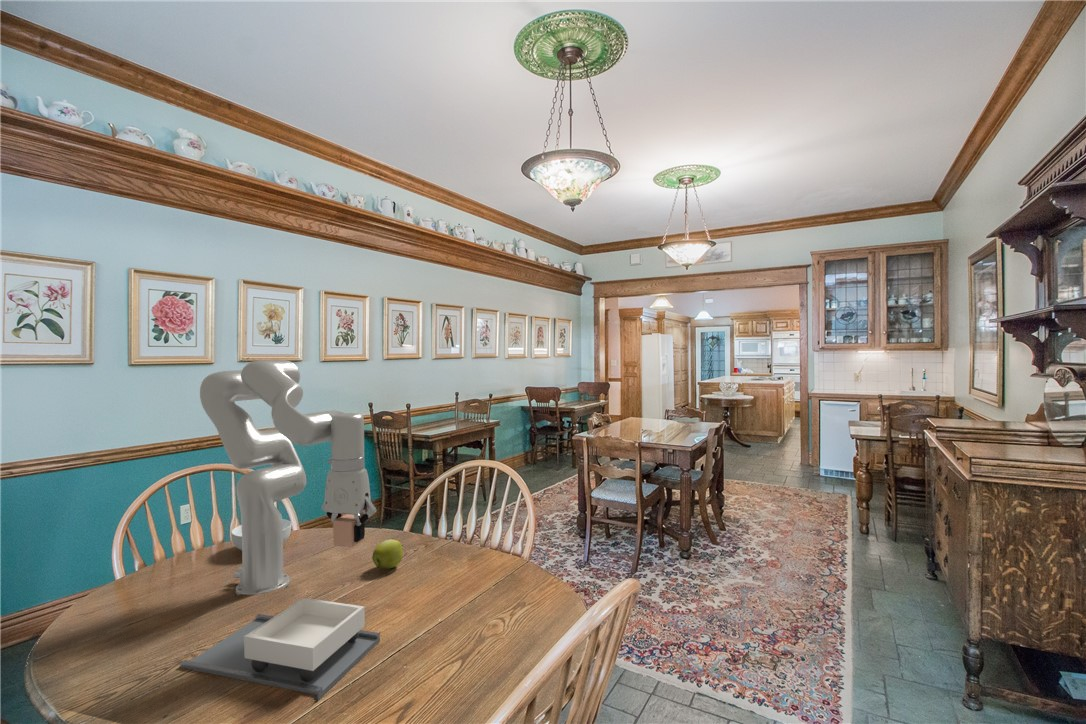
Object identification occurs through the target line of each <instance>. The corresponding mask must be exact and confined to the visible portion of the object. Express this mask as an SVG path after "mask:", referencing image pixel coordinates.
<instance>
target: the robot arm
mask: <svg viewBox="0 0 1086 724" xmlns="http://www.w3.org/2000/svg"><path fill="white" fill-rule="evenodd" d="M300 379H301V372H300V370H299V368H298V366H297V365H296V364H295V363H294V362H292V361H290V360H287V359H259V360H253V361H251V362H248V363H247V364H246V365H244V367H243V368H242V369H240V370H223V371H222V370H221V371H217V372H214V373H211V374H208V375H207V376H205V378H204V379H203V380H202V381H201V384H200V387H199V399H200V403H201V406H202V408H203V411H204V412H205V414H206V416H207V417H208V418H209V420H211V422H212V423H213V425H214V427H215V429H216V430H217V433H218V435H219V438H220V440H221V443H222V446H223V447H224V450H225V452H226V455H227V457H228V459H229V461H230V463H231V464H232V466H233V467H234V468H236V469H239V470H247V469H253V468H257V469H255V470H251V471H249V472H247V473H245V474H244V475H243V476H241V477H240V478H239V480H238V481H237V484H236V489H235V490H236V496H237V502H238V504H239V509H240V519H241V525H242V550H241V552H242V553H241V555H242V557H241V558H242V559H241V560H242V562H241V563H242V566H239V567H238V568H237V569H236V571H235V572H234V573H233V575H232V577H233V578H234V579H239V583H238V584H237V585H236V587H235V594H236V595H237V596H240V595H247V596H254V595H261V594H265V593H270V592H272V591H275V590H278V589H280V588H286V587H287V586H288V585H290V581H291V578H290V575H289V574H288V573H285V572H284V543H283V524H282V519H283V516H282V514H281V512H280V511H279V510H278V508H277V507H276V506H275V503H276V502H279V501H282V500H285V499H288V498H291V497H294V496H297V495H300V493H302V492H303V491H304V489H305V487H306V485H307V475H306V471H305V469H304V466H303V464H302V462H301V460H300V457H299V455H298V453H297V450H296V449H295V447H294V444H295V445H297V446H301V447H305V446H312V445H316V444H321V443H327V442H330V452H331V453H330V458H328V461H327V464H328V465H330V468H331V469H330V470H328V471H327V475H326V481H325V488H324V489H325V490H324V502H323V504H322V505H321V510H322V511H323V512H324V513H325V514H326V515H327V517H328V518H329V520H330V523H331V524H332V525H333V520H335V519H337V518H339V517H341V516H343V515H345V514H351V515H354V518H355V522H356V525H355V526H354V542H358V541H360V540H362V539H363V538H364V539H365V533H366V532H365V531H366V528H365V527H366V526H365V523H367V521H368V520H369V519H370V518H371V517H372V516H373V515H374V514H375V513H376V512H377V508H376V506H375V505H374V504H373V502H372V499H371V498H372V497H371V488H370V487H371V485H370V479H369V474H368V470H367V469H366V468H365V419H364V418H365V417H364V415H362V414H360V413H358V412H357V413H356V412H347V413H346V412H343V411H338V410H327V411H317V412H310V413H302V412H300V411H298V410H297V408H296V407H298V405H299V404H300V403H301V402H302V401H301V400H302V399H303V396H304V391H303V387H302V386H301V385H300V384H299V383H300ZM253 400H262V401H263V402H264V403H266V404H267V405H268V406H269V407H271V412H270V413H271V419H272V422H273V425H274V428H275V429H267V430H262V431H261V430H258V429H257V427H256V426H255V424H254V421H253V418H252V416H250V414H249V413H248V412H247V411H246V410H245V409H244V408H242V406H239V405H238V404H236V403H235V402H241V401H242V402H243V401H253ZM267 465H270V466H267ZM262 466H267V467H263V468H258V467H262ZM360 517H361V518H360Z"/></svg>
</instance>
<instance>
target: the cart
mask: <svg viewBox="0 0 1086 724" xmlns="http://www.w3.org/2000/svg"><path fill="white" fill-rule="evenodd" d="M365 611H366V608H365V606H363V605H356V604H351V603H342V602H334V601H330V600H329V601H328V600H321V599H316V598H308V597H302V598H301V599H299V600H298V601H296V602H294V603H293V604H291V605H290V606H288V607H287V608H285V609H284V610H282V611H281V612H279V613H278V614H276V615H274V616H275V617H273V618H271V619H270V620H268V621H267V622H265V623H264V624H262V625H261V626H259V627H258V628H256V629H255V630H253V631H252V632H250V633H248V634H247V635H245V636H244V656H245V658H247V659H252V663H251V664H252V668H253V669H254V671H256V672H261V671H262V670H264V669H265V668H266V667H267V666H268V663H274V664H279V665H284V666H290V667H295V668H300V671H299V675H300V678H301V679H302V680H303V681H305V682H308V681H310V680H311V679H312V678H313V677H314V676H315V675H316V668H317V667H318V666H319V665H321V664H322V663H323V662H324V661H325V660H326V659H327V658H329V657H330V656H331V655H332V654H333V653H334V652H336V651H337V650H338V649H339V648H340V647H341V646H342V645H344V644H345V643H346V642H347V641H348V642H354V641H355V640H356V639H357V638H358V637H359V631H360V630H363V628H365V626H366V622H365V620H366V619H365V618H366V617H365V615H366V614H365Z"/></svg>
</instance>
